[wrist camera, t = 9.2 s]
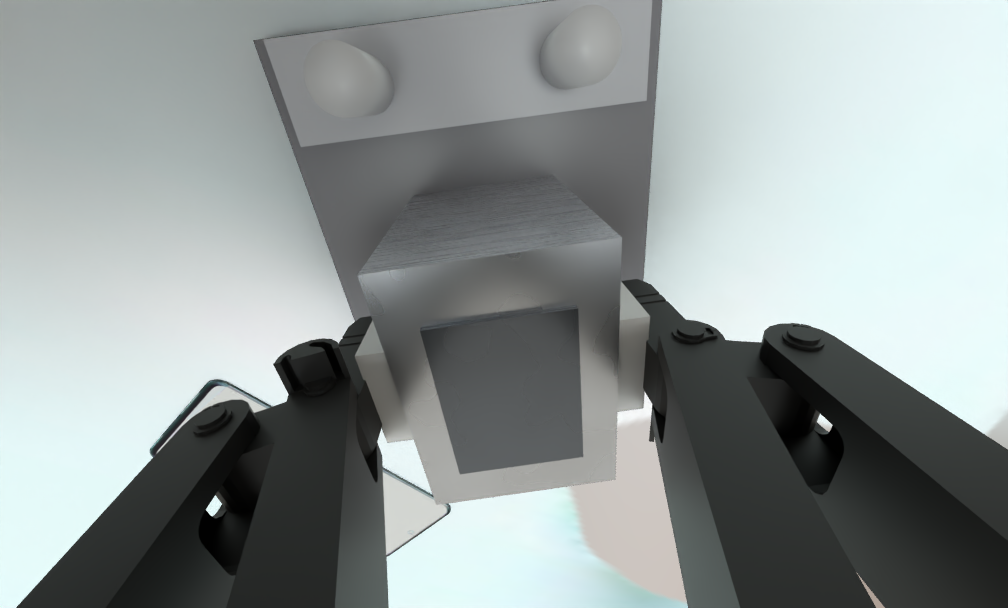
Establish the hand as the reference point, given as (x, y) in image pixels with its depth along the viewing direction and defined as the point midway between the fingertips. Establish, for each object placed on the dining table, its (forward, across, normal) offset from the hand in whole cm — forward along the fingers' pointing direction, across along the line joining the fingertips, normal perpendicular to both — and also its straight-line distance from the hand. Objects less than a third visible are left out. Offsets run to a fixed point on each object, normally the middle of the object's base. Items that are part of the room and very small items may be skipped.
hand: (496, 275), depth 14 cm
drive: (0, 0, 0) cm, 0 cm away
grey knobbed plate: (+1, 0, 0) cm, 1 cm away
